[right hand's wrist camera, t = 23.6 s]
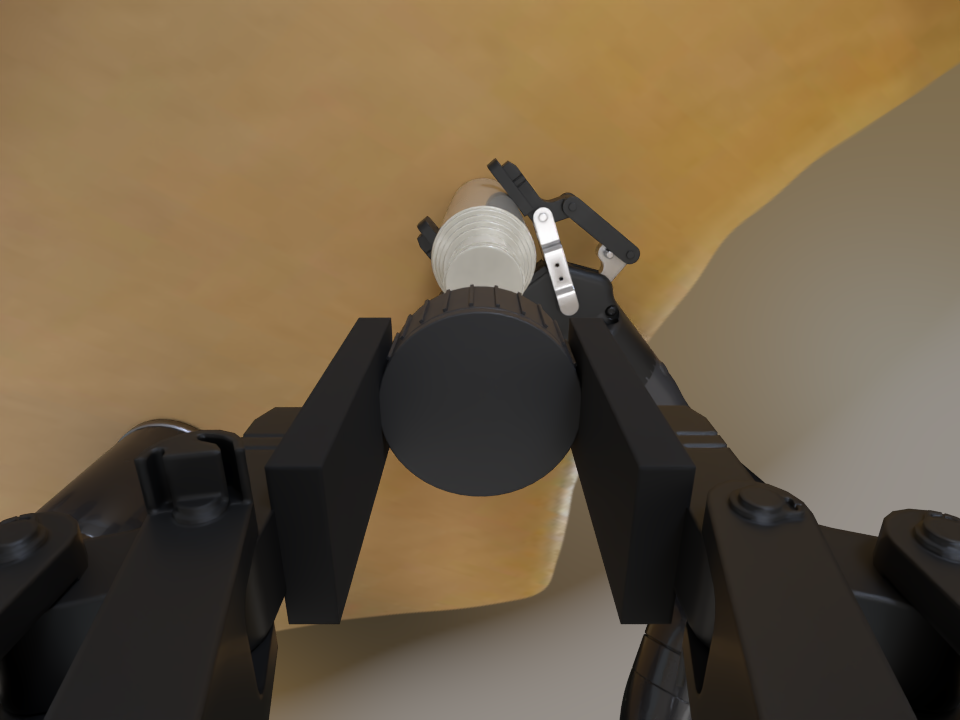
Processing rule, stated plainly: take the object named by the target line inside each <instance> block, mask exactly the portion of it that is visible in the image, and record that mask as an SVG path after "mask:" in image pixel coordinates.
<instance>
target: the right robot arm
mask: <svg viewBox="0 0 960 720" xmlns="http://www.w3.org/2000/svg"><path fill="white" fill-rule="evenodd" d="M392 343H393V342H392V325H391V318H359V319H358V320H357V322H356V323H355V325H354V326H353V328H352V330H351V331H350V333H349V334H348V336H347V337H346V339H345V341H344V342H343V344H342V345H341V347H340V349H339V350H338V352H337V353H336V355H335V356H334V358H333V360H332V361H331V363H330V364H329V366H328V367H327V369H326V371H325V372H324V374H323V375H322V377H321V378H320V380H319V382H318V383H317V385H316V386H315V388H314V389H313V391H312V393H311V394H310V396H309V397H308V399H307V400H306V402H305V404H304V405H303V407H275V408H273V409H272V410H270V411H268V412H267V413H265V414H263V415H262V416H260V417H259V418H257V419H255V420H254V421H253V423H252V424H251V425H250V427H249V428H248V429H247V430H246V432H245V433H244V434H243V437H241V438H240V437H239V436H238V435H236V434H235V433H232V432H227V431H223V430H199V431H193V432H187V433H181V434H178V435H175V436H172V437H169V438H166V439H163V440H160V441H159V442H157V443H155V444H153V445H151V446H150V447H148V448H146V449H144V450H143V451H142V452H141V453H140V454H139V455H138V456H137V457H136V458H135V459H134V463H135V467H136V471H137V475H138V479H139V483H140V487H141V491H142V495H143V499H144V503H145V507H146V511H147V516H146V518H145V520H144V522H143V524H142V526H141V528H137V529H133V530H129V531H124V532H119V533H114V534H109V535H103V536H98V537H93V538H88V539H83V538H82V534H81V531H80V528H79V524H78V521H77V520H75V519H74V518H73V517H72V516H71V515H69V514H65V513H59V512H53V511H52V512H41V513H29V514H24V515H20V517H17V516H15V517H12V518H9V519H6V520H3V521H2V522H0V720H269V714H270V706H271V698H272V690H273V682H274V674H275V666H276V658H277V650H278V645H277V637H276V631H275V625H274V620H275V618H276V615H277V613H278V610H279V608H280V606H281V603H282V601H283V598H284V596H285V602H286V609H287V615H288V621H289V624H340V621H341V617H342V614H343V610H344V607H345V603H346V599H347V596H348V592H349V589H350V585H351V582H352V578H353V575H354V571H355V568H356V564H357V561H358V557H359V553H360V550H361V546H362V543H363V539H364V536H365V532H366V529H367V525H368V522H369V518H370V515H371V511H372V507H373V504H374V500H375V497H376V493H377V490H378V486H379V483H380V479H381V476H382V472H383V469H384V465H385V461H386V458H387V454H388V451H389V445H388V443H387V441H386V439H385V437H384V434H383V431H382V427H381V414H380V399H379V387H380V383H381V379H382V376H383V374H384V371H385V369H386V366H387V364H388V361H389V360H387V359H386V358H387V356H388V353H389V351H390V348H391V346H392ZM568 344H569V346H570V349H571V351H572V354H573V356H574V358H575V361H576V363H577V367H575V369H576V372H577V375H578V377H579V380H580V384H581V405H580V419H579V430H578V433H577V436H576V438H575V441H574V442H573V444H572V446H571V450H572V453H573V457H574V460H575V464H576V467H577V471H578V474H579V478H580V481H581V485H582V488H583V492H584V495H585V499H586V502H587V506H588V510H589V513H590V517H591V520H592V524H593V527H594V531H595V534H596V538H597V541H598V545H599V549H600V552H601V555H602V559H603V563H604V566H605V570H606V573H607V577H608V580H609V584H610V587H611V591H612V594H613V598H614V602H615V605H616V609H617V612H618V616H619V619H620V623H621V624H672V618H673V611H674V605H675V599H676V594H677V597H678V599H679V601H680V604H681V606H682V609H683V611H684V613H685V616H686V618H687V619H686V625H685V631H684V637H683V643H682V649H681V655H680V661H679V667H678V672H677V679H676V686H679V687H684V683H685V677H686V680H687V688H688V696H689V704H690V712H691V720H960V518H958V517H955V516H952V515H949V514H942V513H941V512H936V511H931V510H917V509H904V510H898V511H892V512H891V513H890V514H889V515H887V516H886V517H885V518H884V520H883V523H882V526H881V529H880V533H879V536H878V537H876V536H871V535H866V534H861V533H855V532H850V531H845V530H840V529H835V528H830V527H826V526H822V525H818V523H817V521H816V519H815V517H814V515H813V513H812V512H811V511H810V510H809V508H808V507H807V506H806V505H805V504H804V502H802V501H801V500H799V499H798V498H796V497H795V496H793V495H792V494H790V493H789V492H787V491H784V490H782V489H779V488H777V487H774V486H772V485H769V484H765V483H760V482H756V481H755V480H754V479H753V478H752V476H751V475H750V474H749V472H748V471H747V470H746V469H745V467H744V466H743V465H742V463H741V462H740V461H739V460H738V458H737V457H736V456H735V455H734V453H733V452H732V451H731V449H730V448H727V444H726V443H725V442H724V440H723V439H722V438H721V436H720V435H717V431H716V430H715V429H714V427H713V426H712V425H711V424H710V422H709V421H708V420H707V419H706V418H705V417H704V416H702V415H701V414H699V413H697V412H696V411H694V410H692V409H691V408H689V407H687V406H686V405H656V403H655V401H654V400H653V398H652V397H651V395H650V393H649V392H648V390H647V389H646V387H645V386H644V384H643V382H642V381H641V379H640V378H639V376H638V375H637V373H636V371H635V370H634V368H633V367H632V365H631V364H630V362H629V360H628V359H627V357H626V356H625V354H624V353H623V351H622V349H621V348H620V346H619V345H618V343H617V342H616V340H615V338H614V337H613V335H612V334H611V332H610V331H609V329H608V327H607V326H606V324H605V323H604V321H603V320H602V318H569V332H568Z"/></svg>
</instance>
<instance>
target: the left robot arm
mask: <svg viewBox="0 0 960 720" xmlns="http://www.w3.org/2000/svg"><path fill="white" fill-rule="evenodd" d="M487 167H488V169H489V170H490V171H491V173H492V174H493V175H494V177H495V178H496V179H497V181H498V182H499V183H500V185H501V186H502V187H503V189H504V190H505V191H506V192H507V194H508V195H509V196H510V198H511V199H512V200H513V201H514V203H515V204H516V205H517V207H518V208H519V210H520V211H521V212H522V214H523V215H524V216H526V215H528V216H529V218H530V219H531V220H532V222H533V225H534V229H535V232H536V236H537V239H538V243H539V247H540V250H541V253H542V257H543V260H544V261H543V260H542V259H541V260H540V261H539V262H537V263H536V267H535V271H534V275H533V277H532V280H531V282H530V284H529V285H528V287H527V289H526V290H525V291H524V293H523V295H522V296H524V297H525V298H527V299H529V300H531V301H532V302H534V303H535V304H536V305H538V304H540V305H541V306H542V309H543V310H544V311H545V312H546V313H547V314H548V315H549V316H550V317H551V319H552V320H553V321H554V320H556V321H557V323H558V326H559V328H560V331H561V333H562V336H563V338H564V340H565V339H567V341H568V332H569V318H602V320H603V321H604V323H605V324H606V326H607V327H608V329H609V331H610V332H611V334H612V335H613V337H614V338H615V340H616V342H617V343H618V345H619V346H620V348H621V349H622V351H623V353H624V354H625V356H626V357H627V359H628V360H629V362H630V364H631V365H632V367H633V368H634V370H635V371H636V373H637V375H638V376H639V378H640V379H641V381H642V382H643V384H644V386H645V387H646V389H647V390H648V392H649V393H650V395H651V397H652V398H653V400H654V401H655V403H656V405H686V406H687V407H689V406H688V404H687V402H686V401H685V399H684V398H683V396H682V394H681V392H680V390H679V388H678V386H677V384H676V383H675V381H674V379H673V378H672V377H671V375H670V374H669V372H668V370H667V368H666V366H665V365H664V364H663V362H661V361H660V360H659V359H658V358H657V356H656V355H655V354H654V352H653V351H652V350H651V349H650V347H649V346H648V344H647V343H646V341H645V340H644V339H643V337H642V336H641V335H640V333H639V332H638V331H637V329H636V328H635V327H634V325H633V324H632V323H631V321H630V320H629V319H628V317H627V316H626V315H625V313H624V312H623V311H622V309H621V308H620V307H619V305H618V304H617V303H616V301H615V299H614V295H613V287H612V284H611V282H612V280H613V279H614V278H615V277H616V276H617V275H618V274H619V272H620V271H621V270H622V269H623V268H624V267H625V266H626V264H633V263H635V262H636V261H637V260H638V259H639V256H640V251H639V249H638V248H637V247H636V246H635V245H634V244H633V243H631V242H630V241H629V240H628V239H627V238H626V237H624V236H623V235H622V234H621V233H620V232H618V231H617V230H616V229H615V228H614V227H612V226H611V225H610V224H609V223H608V222H606V221H605V220H604V219H603V218H602V217H600V216H599V215H598V214H597V213H596V212H594V211H593V210H592V209H591V208H590V207H589V206H587V205H586V204H585V203H584V202H583V201H581V200H580V199H579V198H577V197H576V196H575V195H573V194H572V193H564V194H562V195H561V196H560V197H557V198H554V199H551V200H543V199H541V198H540V197H539V196H538V195H537V193H536V192H535V191H534V189H533V188H532V187H531V185H530V184H529V183H528V181H527V180H526V179H525V177H524V176H523V175H522V173H521V172H520V171H519V169H518V168H517V166H516V165H514V164H512V163H511V162H509V161H507V162H506V163H504V164H503V165H502V166H501V165H500V163H499V162H498V161H497V159H496V158H495V159H494V160H493V161H491V162H490V163H489V164H488V165H487ZM566 218H571V219H572V220H573V221H574V222H576V223H577V224H578V225H579V226H580V227H582V228H583V229H584V230H585V231H586V232H588V233H589V234H590V235H591V236H593V237H594V238H595V239H596V240H597V241H599V242H600V243H599V244H598V245H597V247H596V255H597V256H598V257H599V259H600V261H601V267H600V269H599V270H595V269H591V268H588V267H584V266H581V265H577V264H573V263H570V262H566V258H565V255H564V251H563V248H562V245H561V242H560V239H559V236H558V232H557V229H556V225H555V222H557V221H560V220H563V219H566ZM417 227H418V229H419V231H420V232H421V234H420V235H419V237H418V238H417V239H418V242H419V245H420V247H421V249H422V250H423V251H424V252H425V253H426V254H427V256H428V257H429V258H430V259H431V253H432V247H433V243H434V240H435V237H436V235H437V233H438V230H439V228H438V227H437V226H436V225H435V223H434V222H433V221H432V220H431V219H430V218H429V217H428V216H427V217H426V218H424V219H423V220H422V221H421V222H420V223H419V224H418V225H417ZM441 294H444V292H443V291H442V292H441V293H440V294H439V295H441ZM689 408H690V407H689ZM193 431H199V430H197V429H196V428H194V427H192V426H189V425H187V424H184V423H181V422H177V421H172V420H152V421H148V422H144V423H141V424H139V425H137V426H136V427H134V428H132V429H131V430H130V431H129V432H127V433H126V434H125V435H124V436H123V437H122V438H121V439H120V440H119V441H118V443H117V444H116V445H114V446H113V447H112V448H111V449H110V450H108V451H107V452H106V453H105V454H103V455H102V456H101V457H100V458H99V459H98V460H96V461H95V462H94V463H93V464H92V465H91V466H89V467H88V468H87V469H86V470H85V471H84V472H82V473H81V474H80V475H79V476H78V477H76V478H75V479H74V480H73V481H72V482H71V483H69V484H68V485H67V486H66V487H65V488H64V489H62V490H61V491H60V492H59V493H58V494H57V495H55V496H54V497H53V498H52V499H51V500H50V501H48V502H47V503H46V504H45V505H44V506H43V507H41V508H40V509H39V510H38V511H37V512H36V513H41V512H52V511H53V512H59V513H65V514H69V515H71V516H72V517H73V518H74V519H75V520H77V521H78V524H79V528H80V531H81V534H82V538H83V539H88V538H93V537H98V536H103V535H109V534H114V533H119V532H124V531H129V530H133V529H137V528H141V526H142V524H143V522H144V520H145V518H146V516H147V511H146V507H145V503H144V499H143V495H142V491H141V487H140V483H139V479H138V475H137V471H136V467H135V463H134V459H135V458H136V457H137V456H138V455H139V454H140V453H141V452H142V451H143V450H144V449H146V448H148V447H150V446H151V445H153V444H155V443H157V442H159V441H160V440H163V439H166V438H169V437H172V436H175V435H178V434H181V433H187V432H193ZM742 465H743V464H742ZM743 466H744V465H743ZM744 467H745V466H744ZM745 469H746V470H747V471H748V472H749V474H750V475H751V476H752V478H753V479H754V480H755V481H756V482H760V483H764V482H763V481H762V480H761V479H760V478H758V477H757V476H756V475H755V474H754V473H752V472H751V471H750V470H749V469H748V468H747V467H745ZM765 484H766V483H765ZM686 619H687V618H686V616H685V613H684V611H683V609H682V606H681V604H680V601H679V599H678V597H677V594H676V599H675V605H674V611H673V618H672V624H648V625H647V627H646V630H645V633H646V634H644V636H643V638H642V641H641V644H640V647H639V650H638V652H637V655H636V658H635V661H634V664H633V668H632V669H631V672H630V675H629V678H628V681H627V685H626V688H625V692H624V696H623V701H622V706H621V713H620V720H691V712H690V704H689V696H688V688H687V680H686V677H685V683H684V687H679V686H676V679H677V672H678V667H679V661H680V655H681V649H682V643H683V637H684V631H685V625H686Z"/></svg>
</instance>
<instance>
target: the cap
mask: <svg viewBox="0 0 960 720" xmlns="http://www.w3.org/2000/svg"><path fill="white" fill-rule="evenodd" d="M386 359H387V360H389V361H388V364H387V366H386V369H385V371H384V374H383V376H382V379H381V383H380V387H379V399H380V414H381V427H382V431H383V434H384V437H385V439H386V441H387V443H388V445H389V447H390V448H391V450H392V451H393V453H394V454H395V456H396V457H397V458H398V460H399V461H400V462H401V463H402V464H403V465H404V466H405V467H406V468H407V469H408V470H409V471H411V472H412V473H413V474H414V475H415V476H417V477H418V478H420V479H421V480H423V481H425V482H426V483H428V484H430V485H432V486H434V487H436V488H439V489H442V490H445V491H447V492H451V493H455V494H460V495H467V496H494V495H501V494H505V493H510V492H513V491H516V490H519V489H522V488H524V487H526V486H528V485H531V484H533V483H534V482H536V481H538V480H539V479H541V478H542V477H544V476H545V475H546V474H548V473H549V472H550V471H551V470H553V469H554V468H555V467H556V466H557V465H558V464H559V463H560V462H561V460H562V459H563V458H564V457H565V455H566V454H567V452H568V451H569V450H570V448H571V446H572V444H573V442H574V441H575V438H576V436H577V433H578V430H579V419H580V405H581V384H580V380H579V377H578V375H577V372H576V369H575V367H577V363H576V361H575V358H574V356H573V354H572V351H571V349H570V346H569V344H568V341H567V339H565V340H564V338H563V336H562V333H561V331H560V328H559V326H558V323H557V321H556V320H554V321H553V320H552V319H551V317H550V316H549V315H548V314H547V313H546V312H545V311H544V310H543V309H542V306H541V305H540V304H538V305H536V304H535V303H534V302H532V301H531V300H529V299H527V298H525V297H524V296H522V294H521V293H520V292H518V293H514V292H512V291H509V290H505V289H501V288H498V286H497V285H495V286H494V287H489V286H474V284H472V285H470V287H464V288H460V289H456V290H452V291H450V289H448V290H446V293H444V294H441V295H439V296H437V297H435V298H434V299H432V300H430V301H429V300H426V301H425V304H424V305H423V306H422V307H420V308H419V309H418V310H417V311H416V312H415V313H414V314H413V315H411V314H410V315H409V316H408V318H407V321H406V323H405V325H404V327H403V328H402V330H401V332H400V334H399V333H397V334H396V336H395V338H394V341H393V343H392V346H391V348H390V351H389V353H388V356H387V358H386Z"/></svg>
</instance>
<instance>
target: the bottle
mask: <svg viewBox="0 0 960 720" xmlns="http://www.w3.org/2000/svg"><path fill="white" fill-rule="evenodd" d="M431 263H432V269H433V273H434V276H435V279H436V281H437V283H438V285H439V286H440V288H441V289H442V291H443V292H444V293H446V290H448V289H450V291H452V290H456V289H460V288H464V287H470V285H472V284H474V286H489V287H494V286H495V285H497V286H498V288H501V289H505V290H509V291H512V292H514V293H518V292H520V293H521V294H522V295H523V293H524V291H525V290H526V289H527V287H528V285H529V284H530V282H531V280H532V277H533V275H534V271H535V267H536V249H535V245H534V241H533V239H532V236H531V234H530V232H529V230H528V228H527V225H526V223H525V221H524V219H523V217H522V215H521V213H520V211H519V208H518V207H517V205H516V204H515V203H514V201H513V200H512V199H511V198H510V196H509V195H508V194H507V192H506V191H505V190H504V189H503V187H502V186H501V185H500V183H499V182H497V181H495V180H492V179H487V178H479V179H474V180H471V181H469V182H467V183H465V184H464V185H462V186H461V187H460V188H459V189H458V190H457V192H456V193H455V195H454V196H453V198H452V201H451V203H450V205H449V207H448V210H447V212H446V214H445V217H444V219H443V221H442V224H441V226H440V228H439V230H438V233H437V235H436V237H435V240H434V243H433V247H432V253H431Z"/></svg>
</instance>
